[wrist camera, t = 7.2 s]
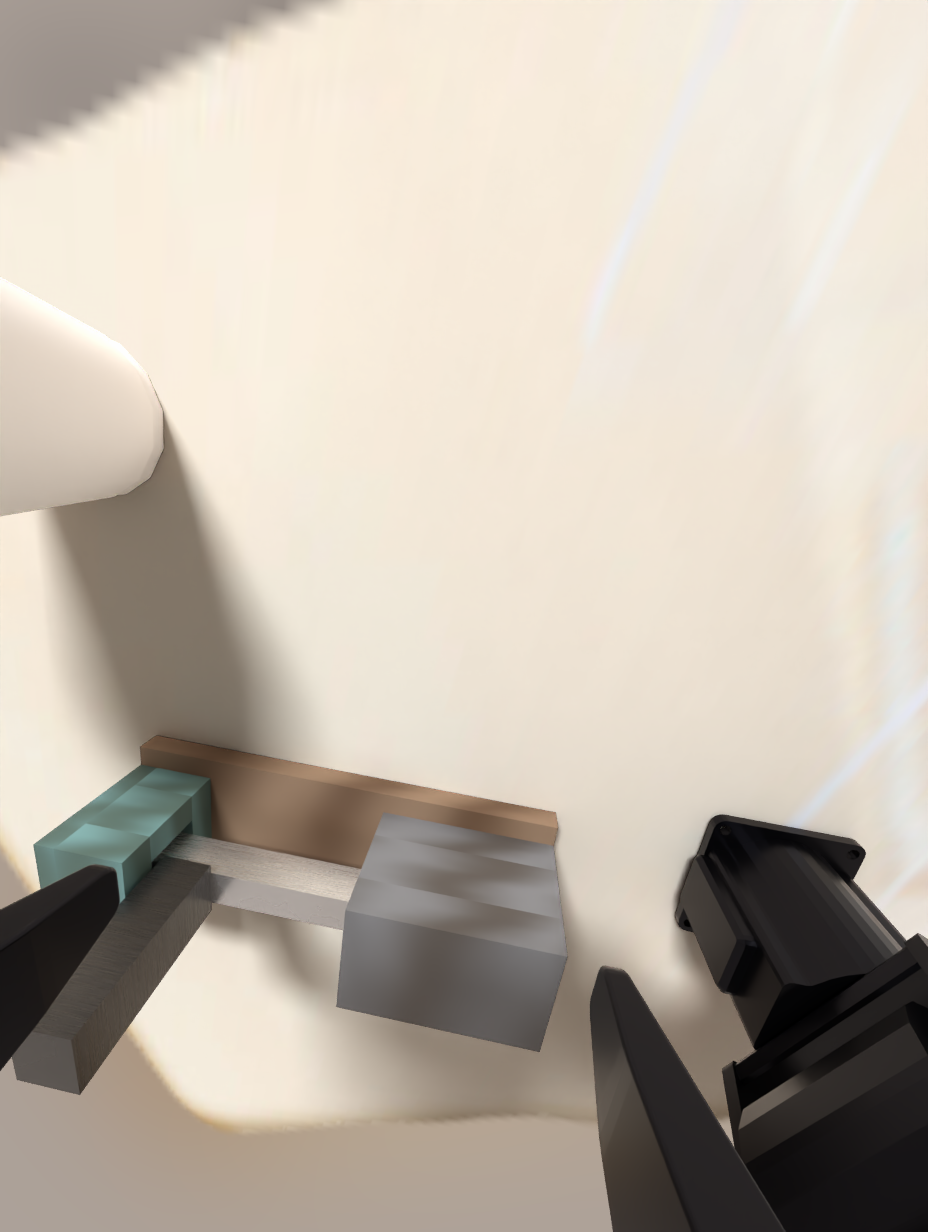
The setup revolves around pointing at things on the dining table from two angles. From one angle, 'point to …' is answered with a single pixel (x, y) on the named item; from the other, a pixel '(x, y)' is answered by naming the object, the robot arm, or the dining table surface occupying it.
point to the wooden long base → (362, 876)
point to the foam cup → (69, 410)
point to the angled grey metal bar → (168, 944)
